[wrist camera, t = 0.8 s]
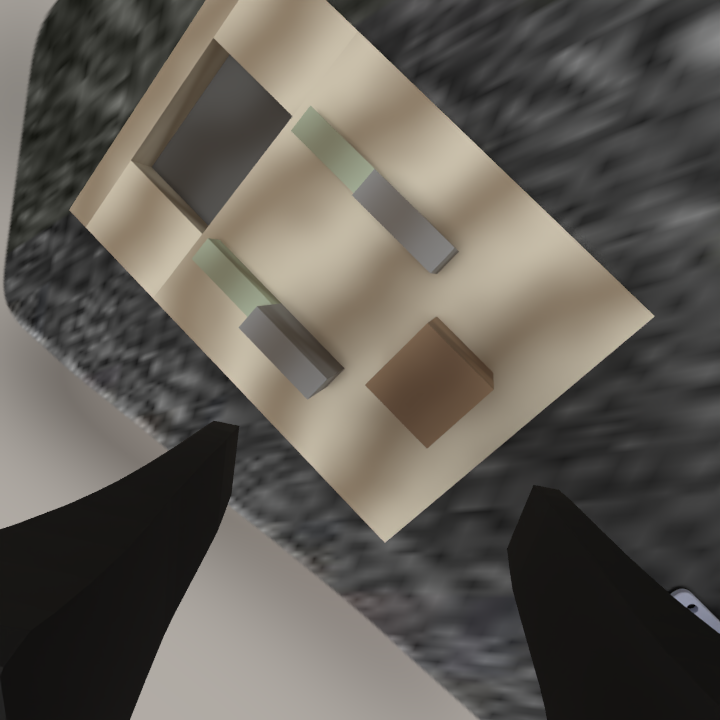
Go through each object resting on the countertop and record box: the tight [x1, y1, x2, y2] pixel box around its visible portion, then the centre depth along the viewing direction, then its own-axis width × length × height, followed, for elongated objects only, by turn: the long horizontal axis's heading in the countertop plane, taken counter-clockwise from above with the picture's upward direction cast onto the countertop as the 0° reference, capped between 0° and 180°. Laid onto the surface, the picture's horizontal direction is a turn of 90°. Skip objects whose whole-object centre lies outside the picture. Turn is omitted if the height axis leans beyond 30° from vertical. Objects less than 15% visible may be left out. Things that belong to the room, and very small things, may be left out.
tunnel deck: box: [70, 0, 654, 542], centre depth 26 cm, size 27×18×5 cm, turn 47°
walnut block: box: [365, 317, 494, 448], centre depth 24 cm, size 4×4×4 cm
